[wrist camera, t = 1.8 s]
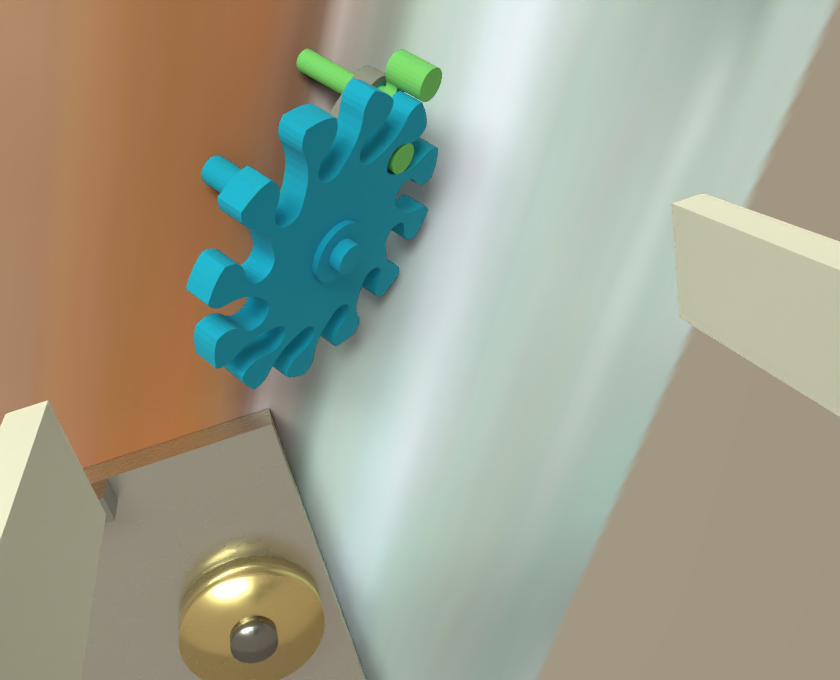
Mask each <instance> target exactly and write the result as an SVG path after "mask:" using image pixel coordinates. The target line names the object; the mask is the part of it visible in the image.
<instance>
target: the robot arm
mask: <svg viewBox="0 0 840 680" xmlns="http://www.w3.org/2000/svg"><path fill="white" fill-rule="evenodd" d="M672 213H673V228H674V242H675V256H676V270H677V284H678V298H679V312H680V318H681V319H683V320H685V321H686V322H688V323H689V324H691V325H693V326H694V327H696V328H697V329H699V330H701V331H702V332H704V333H706V334H707V335H709V336H710V337H712V338H714V339H715V340H717V341H719V342H720V343H722V344H723V345H725V346H726V347H728V348H730V349H732V350H733V351H734V352H736V353H738V354H739V355H741V356H743V357H744V358H746V359H747V360H749V361H751V362H752V363H754V364H756V365H757V366H759V367H760V368H762V369H764V370H765V371H767V372H768V373H770V374H772V375H773V376H775V377H776V378H778V379H780V380H781V381H783V382H784V383H786V384H788V385H789V386H791V387H793V388H794V389H796V390H797V391H799V392H801V393H802V394H804V395H806V396H807V397H809V398H810V399H812V400H814V401H815V402H817V403H819V404H820V405H821V406H823V407H825V408H826V409H828V410H830V411H831V412H833V413H834V414H836V415H838V416H839V417H840V242H839V241H836V240H833V239H831V238H828V237H825V236H822V235H819V234H817V233H814V232H811V231H808V230H805V229H802V228H799V227H797V226H794V225H791V224H788V223H786V222H783V221H780V220H777V219H774V218H771V217H769V216H766V215H763V214H760V213H757V212H755V211H752V210H749V209H746V208H743V207H740V206H738V205H735V204H732V203H729V202H726V201H724V200H721V199H718V198H715V197H712V196H709V195H707V194H704V193H703V194H700V195H697V196H693V197H690V198H687V199H684V200H681V201H678V202H674V203H672ZM105 518H106V513H105V511H104V509H103V508H102V506H101V504H100V502H99V500H98V498H97V496H96V494H95V492H94V490H93V488H92V486H91V484H90V482H89V480H88V478H87V476H86V474H85V472H84V470H83V468H82V466H81V464H80V462H79V460H78V458H77V456H76V455H75V453H74V451H73V449H72V447H71V445H70V443H69V441H68V439H67V437H66V435H65V433H64V431H63V429H62V427H61V425H60V423H59V421H58V419H57V417H56V415H55V413H54V411H53V409H52V407H51V405H50V403H49V401H45V402H42V403H38V404H35V405H32V406H29V407H26V408H23V409H19V410H16V411H13V412H10V413H7V414H6V415H5V417H4V419H3V422H2V424H1V426H0V680H81V678H82V671H83V664H84V658H85V651H86V644H87V638H88V631H89V624H90V618H91V611H92V604H93V598H94V591H95V585H96V578H97V571H98V565H99V558H100V551H101V545H102V538H103V531H104V525H105Z"/></svg>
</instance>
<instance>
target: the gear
mask: <svg viewBox="0 0 840 680" xmlns="http://www.w3.org/2000/svg"><path fill="white" fill-rule="evenodd" d="M297 69H298V70H299V71H300V72H302V73H304V74H306V75H307V76H309V77H311V78H313V79H314V80H316V81H318V82H320V83H322V84H323V85H325V86H327V87H329V88H330V89H332V90H334V91H336V92H337V93H339V94H341V96H340V97H339V99H338V100H337V102H336V104H335V105H334V107H333V108H332V110H331V111H330V113H327V112H326V111H324V110H322V109H320V108H319V107H317V106H315V105H314V104H305V105H302V106H299V107H297V108H295V109H293V110H291V111H289V112H288V113H286V114H284V115H283V116H282V118H281V120H280V124H279V130H278V135H279V139H280V141H281V143H282V145H283V149H284V153H285V173H284V178H283V183H282V187H281V191H279V187H278V185H277V184H276V183H275V182H274V181H272V180H270V179H269V178H267V177H266V176H264V175H263V174H261V173H260V172H258V171H256V170H255V169H253V168H252V167H250V166H246V167H245V168H243V169H241V168H239V167H238V166H236V165H235V164H233V163H232V162H230V161H228V160H227V159H225V158H224V157H222V156H220V155H216V156H213V157H211V158H210V159H209V160H208V161H207V162H206V163H205V165H204V167H203V169H202V180H203V181H204V182H205V183H206V184H208V185H209V186H210V187H212V188H213V189H215V190H216V191H218V192H219V193H220V194H219V196H218V205H219V207H220V209H221V210H222V211H223V212H225V213H226V214H228V215H229V216H231V217H232V218H234V219H235V220H237V221H238V222H240V223H241V224H243V225H244V226H246V227H247V228H249V230H250V232H251V236H252V240H253V249H252V252H251V254H250V256H249V257H248V259H247V260H246V261H245V262H244V263H243V264H242V265H241V266H240V265H239V264H238V263H236V262H235V261H233V260H232V259H230V258H229V257H228V256H226V255H225V254H223V253H222V252H221V251H219V250H217V249H212V248H211V249H207V250H205V251H203V252H202V253H201V255H200V256H199V258H198V259H197V261H196V263H195V265H194V267H193V269H192V272H191V275H190V277H189V280H188V284H187V287H186V289H187V290H188V291H189V292H191V293H192V294H193V295H195V296H196V297H197V298H199V299H200V300H201V301H203V302H204V303H205V304H207V305H208V306H209V307H211V308H221V307H223V306H225V305H227V304H229V303H230V302H232V301H235V300H237V299H239V298H243V297H248V299H247V301H246V303H245V304H244V306H243V307H242V308H241V309H240V310H239V311H238V312H237V313H235V314H233V315H231V316H225V315H222V314H218V313H213V314H210V315H208V316H206V317H204V318H203V319H202V320H200V321H199V322H198V323H197V325H196V328H195V332H194V344H195V349H196V353H197V354H198V355H200V356H201V357H202V358H203V359H205V360H206V361H207V362H209V363H210V364H211V365H212V366H214V367H215V368H221V367H223V366H224V367H225V368H226V369H227V370H228V371H229V372H230V373H231V374H233V375H234V376H235V377H237V378H238V379H239V380H240V381H242V382H243V383H244V384H246V385H247V386H248V387H250V388H252V389H256V388H257V387H258V386H259V385H260V384H261V383H262V382H263V381H264V380H265V379H266V377H267V376H268V374H269V372H270V370H271V368H272V366H273V367H275V368H276V369H277V370H279V371H280V372H281V373H283V374H284V375H285V376H287V377H296V376H299V375H302V374H305V373H306V371H307V370H308V369H309V367H310V366H311V363H312V361H313V358H314V352H315V348H316V345H317V342H318V339H319V337H320V336H322V337H323V338H325V339H326V340H327V341H329V342H330V343H332V344H333V345H334V346H337V345H339V344H341V343H342V342H344V341H345V340H346V339H348V338H349V337H350V336H351V335H352V334H354V333H355V332H356V330H357V328H358V325H359V318H358V316H357V312H356V305H357V299H358V295H359V292H360V289H361V286H362V287H364V288H365V289H367V290H368V291H370V292H371V293H373V294H374V295H376V296H377V297H380V296H381V295H382V294H383V293H384V292H385V291H386V290H387V289H388V288H389V287H390V285H391V284H392V283H393V282H394V280H395V279H396V277H397V276H398V274H399V267H398V266H397V265H395V264H394V263H392V262H390V261H389V260H387V259H386V254H385V242H386V238H387V236H388V234H389V232H390V231H391V230H393V231H394V232H396V233H397V234H399V235H401V236H402V237H404V238H405V239H407V240H410V239H412V238H414V236H415V235H416V233H417V232H418V230H419V228H420V227H421V225H422V223H423V221H424V218H425V216H426V214H427V212H428V209H427V207H426V206H424V205H422V204H421V203H419V202H417V201H416V200H414V199H412V198H411V197H409V196H407V195H404V196H402V197H400V198H398V199H396V200H395V198H396V195H397V192H398V190H399V189H400V187H401V186H402V184H403V183H404V182H405V181H407V180H408V179H410V180H412V181H414V182H416V183H417V184H419V185H421V184H424V183H426V182H427V181H428V180H429V179H430V178H431V176H432V174H433V171H434V168H435V164H436V159H437V153H438V148H436V147H435V146H433V145H431V144H429V143H428V142H426V141H424V140H422V139H421V138H419V137H420V135H421V134H422V133H423V131H424V130H425V128H426V123H427V119H426V112H425V109H424V106H423V104H422V102H420V101H418V100H417V99H419V100H421V101H423V102H427V101H429V100H430V99H431V98H432V97H433V96H434V95H435V94H436V92H437V90H438V88H439V86H440V83H441V79H442V72H441V69H440V68H438V67H436V66H434V65H432V64H430V63H428V62H427V61H425V60H423V59H421V58H419V57H417V56H415V55H413V54H411V53H409V52H407V51H405V50H403V49H400V50H398V51H396V52H395V53H394V54H393V55H392V56H391V58H390V60H389V61H388V64H387V66H386V71H385V73H383V72H381V71H379V70H378V69H376V68H374V67H372V66H365V67H363V68H361V69H360V70H358V71H357V72H356V73H355V74H353V73H352V72H350V71H348V70H346V69H344V68H342V67H341V66H339V65H337V64H335V63H333V62H332V61H330V60H328V59H326V58H324V57H322V56H321V55H319V54H317V53H315V52H313V51H312V50H310V49H305V50H303V51H302V52H301V53H300V55H299V57H298V59H297ZM404 92H406V93H408V94H410V95H412V96H414V97H415V98H417V99H415V98H413V97H411V96H409V95H407V94H406V93H404Z"/></svg>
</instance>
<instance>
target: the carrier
mask: <svg viewBox="0 0 840 680" xmlns="http://www.w3.org/2000/svg"><path fill="white" fill-rule="evenodd" d="M83 470H84V472H85V474H86V476H87V478H88V480H89V482H90V484H91V486H92V488H93V490H94V492H95V494H96V496H97V498H98V500H99V502H100V504H101V506H102V508H103V509H104V511H105V513H106V518H105V525H104V531H103V538H102V545H101V551H100V558H99V565H98V571H97V578H96V585H95V591H94V598H93V604H92V611H91V618H90V624H89V631H88V638H87V644H86V651H85V658H84V664H83V671H82V678H81V680H366V677H365V674H364V672H363V669H362V666H361V663H360V660H359V658H358V655H357V652H356V649H355V647H354V644H353V641H352V638H351V635H350V633H349V630H348V627H347V624H346V622H345V619H344V616H343V613H342V610H341V608H340V605H339V602H338V599H337V597H336V594H335V591H334V588H333V585H332V583H331V580H330V577H329V574H328V571H327V569H326V566H325V563H324V560H323V558H322V555H321V552H320V549H319V546H318V544H317V541H316V538H315V535H314V533H313V530H312V527H311V524H310V521H309V519H308V516H307V513H306V510H305V508H304V505H303V502H302V499H301V496H300V494H299V491H298V488H297V485H296V483H295V480H294V477H293V474H292V471H291V469H290V466H289V463H288V460H287V458H286V455H285V452H284V449H283V446H282V444H281V441H280V438H279V435H278V433H277V430H276V427H275V424H274V421H273V419H272V416H271V413H270V410H269V409H266V410H263V411H260V412H257V413H254V414H251V415H248V416H245V417H242V418H239V419H236V420H233V421H230V422H227V423H223V424H220V425H217V426H214V427H211V428H208V429H205V430H202V431H199V432H196V433H193V434H190V435H187V436H183V437H180V438H177V439H174V440H171V441H168V442H165V443H162V444H159V445H156V446H153V447H150V448H147V449H144V450H140V451H137V452H134V453H131V454H128V455H125V456H122V457H119V458H116V459H113V460H110V461H107V462H104V463H101V464H97V465H94V466H91V467H88V468H85V469H83Z"/></svg>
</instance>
